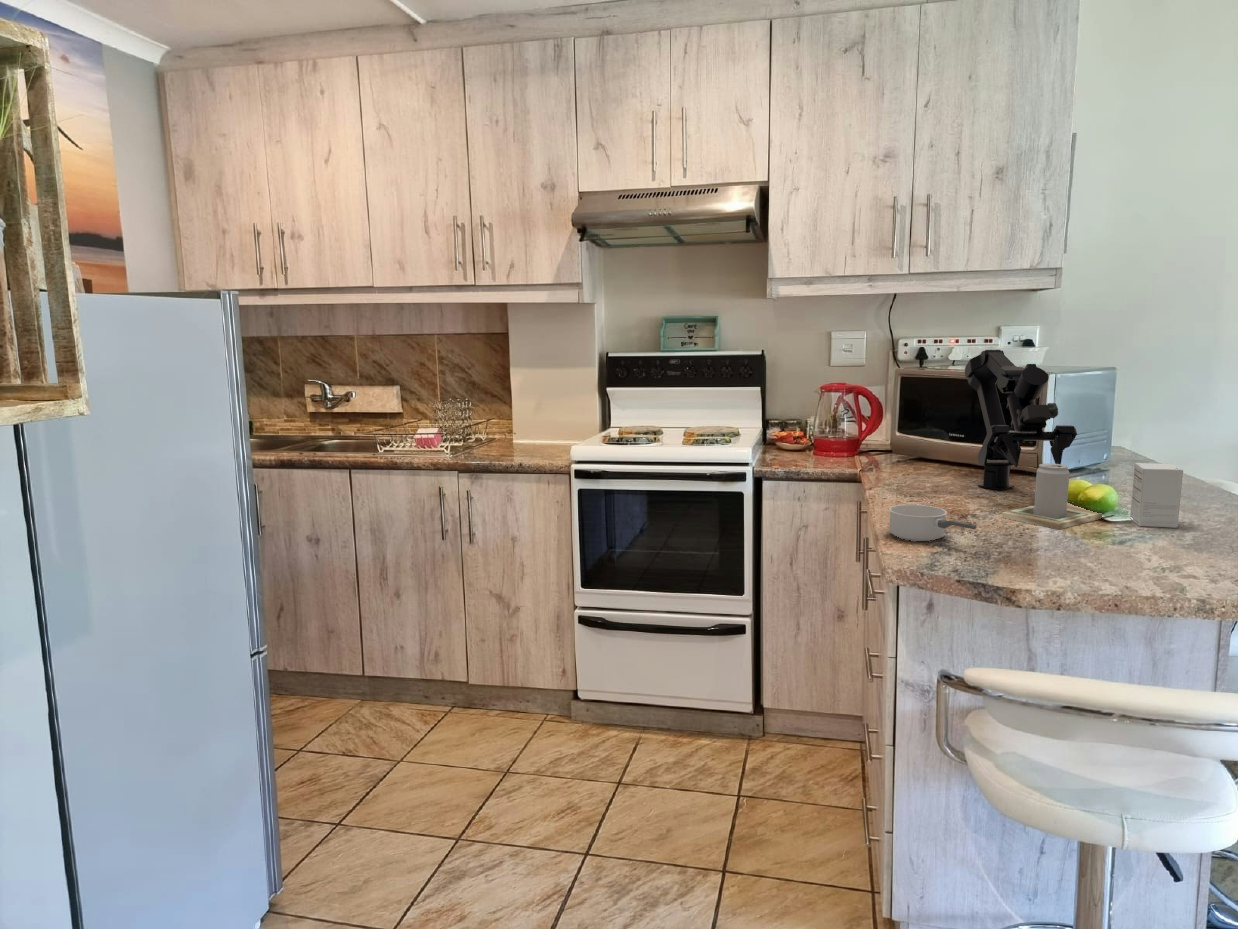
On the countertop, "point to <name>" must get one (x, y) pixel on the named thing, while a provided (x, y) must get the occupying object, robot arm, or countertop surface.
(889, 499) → the countertop surface
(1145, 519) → the supplement box
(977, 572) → the countertop surface
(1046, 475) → the beverage can
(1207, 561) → the countertop surface
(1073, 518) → the board
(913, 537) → the saucepan
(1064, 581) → the countertop surface
